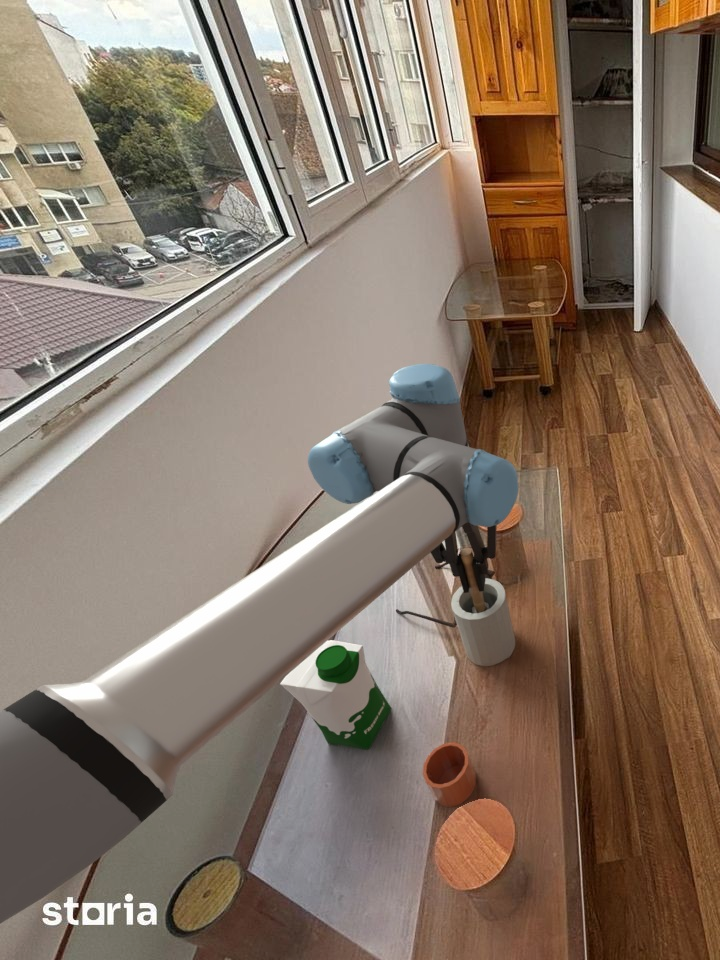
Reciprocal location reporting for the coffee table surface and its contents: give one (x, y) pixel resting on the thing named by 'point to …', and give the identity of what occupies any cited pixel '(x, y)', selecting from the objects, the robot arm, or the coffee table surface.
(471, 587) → the brush
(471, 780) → the holder
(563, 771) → the coffee table surface
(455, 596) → the cup
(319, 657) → the milk carton
